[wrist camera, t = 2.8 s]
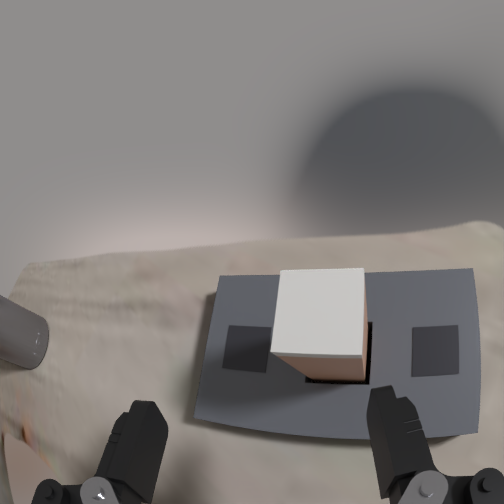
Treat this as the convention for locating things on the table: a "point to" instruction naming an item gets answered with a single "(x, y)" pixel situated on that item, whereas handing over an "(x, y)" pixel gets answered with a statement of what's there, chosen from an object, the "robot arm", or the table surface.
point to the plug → (323, 324)
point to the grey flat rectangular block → (382, 358)
